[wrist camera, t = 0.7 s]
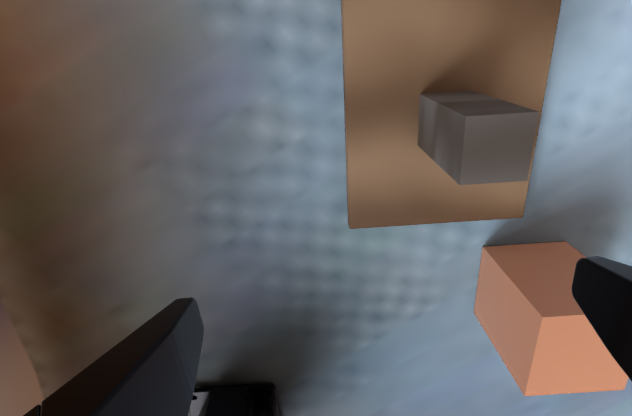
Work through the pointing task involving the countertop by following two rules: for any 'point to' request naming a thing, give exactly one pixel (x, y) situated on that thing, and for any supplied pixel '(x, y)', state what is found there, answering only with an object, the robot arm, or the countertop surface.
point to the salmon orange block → (542, 321)
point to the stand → (442, 107)
